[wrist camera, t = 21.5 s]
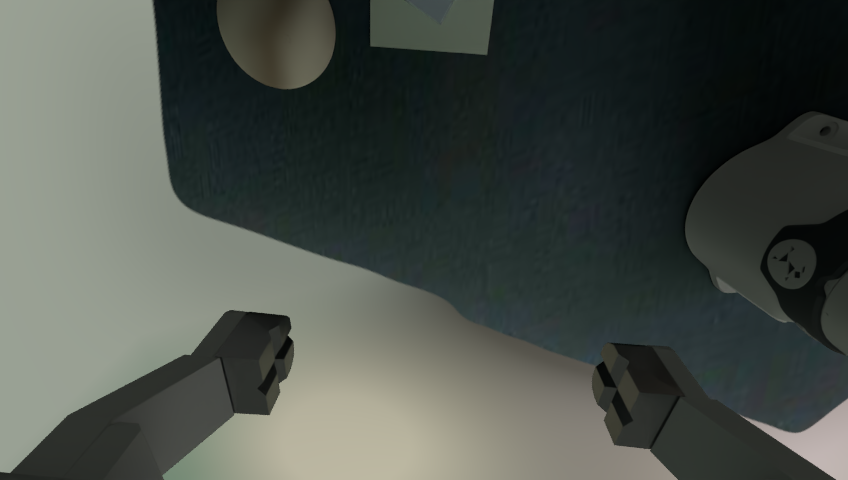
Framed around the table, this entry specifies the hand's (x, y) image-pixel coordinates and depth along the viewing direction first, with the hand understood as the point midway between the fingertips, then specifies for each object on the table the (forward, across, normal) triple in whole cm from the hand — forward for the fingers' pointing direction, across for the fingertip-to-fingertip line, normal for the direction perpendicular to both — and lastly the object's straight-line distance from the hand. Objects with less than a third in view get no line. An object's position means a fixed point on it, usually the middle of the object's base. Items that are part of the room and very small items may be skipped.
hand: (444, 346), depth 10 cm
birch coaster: (+29, +15, -7) cm, 33 cm away
